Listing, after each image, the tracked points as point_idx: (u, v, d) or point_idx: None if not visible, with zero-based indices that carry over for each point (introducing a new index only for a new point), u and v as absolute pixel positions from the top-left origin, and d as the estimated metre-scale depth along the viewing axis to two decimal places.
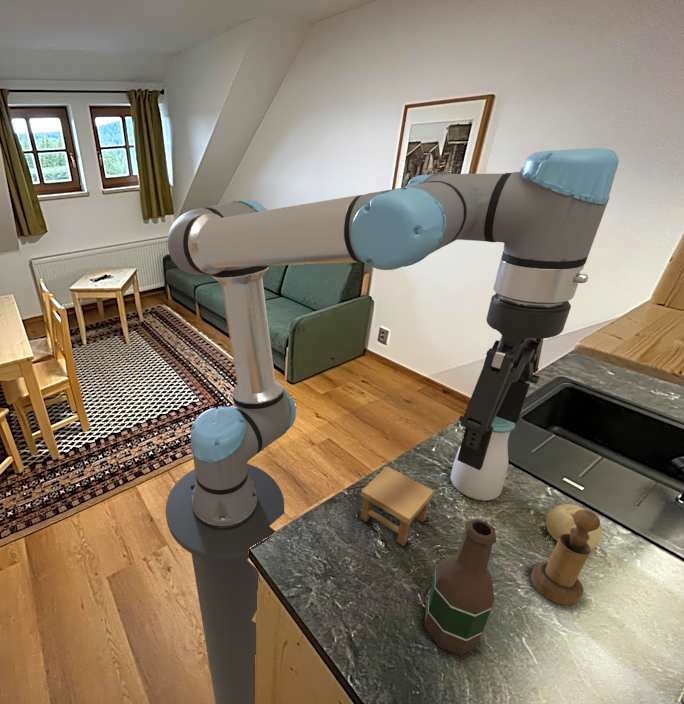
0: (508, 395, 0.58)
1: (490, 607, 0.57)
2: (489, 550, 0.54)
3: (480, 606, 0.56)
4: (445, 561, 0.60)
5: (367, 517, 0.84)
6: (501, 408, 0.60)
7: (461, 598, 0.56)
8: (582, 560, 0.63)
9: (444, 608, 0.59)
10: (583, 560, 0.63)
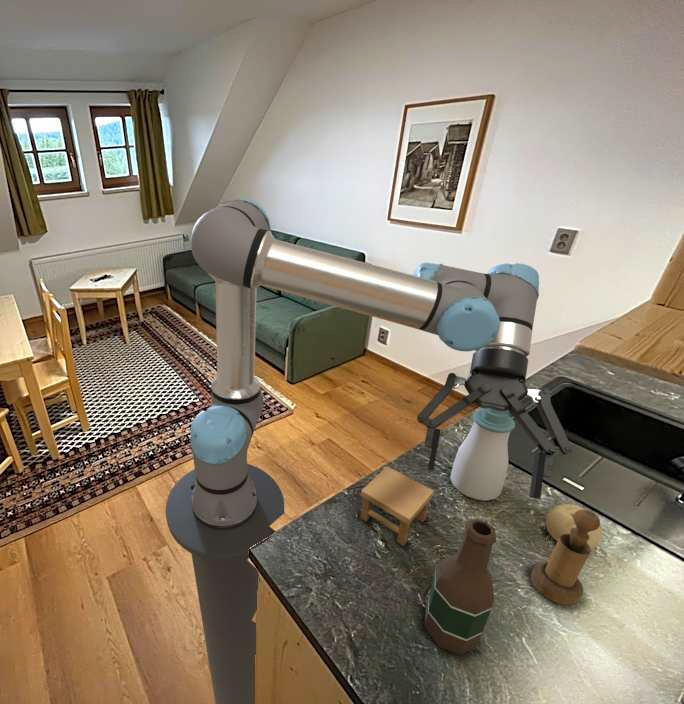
0: (437, 444, 0.65)
1: (490, 607, 0.57)
2: (489, 550, 0.54)
3: (480, 607, 0.56)
4: (445, 561, 0.60)
5: (367, 517, 0.84)
6: None
7: (461, 598, 0.56)
8: (582, 560, 0.63)
9: (444, 608, 0.59)
10: (583, 560, 0.63)
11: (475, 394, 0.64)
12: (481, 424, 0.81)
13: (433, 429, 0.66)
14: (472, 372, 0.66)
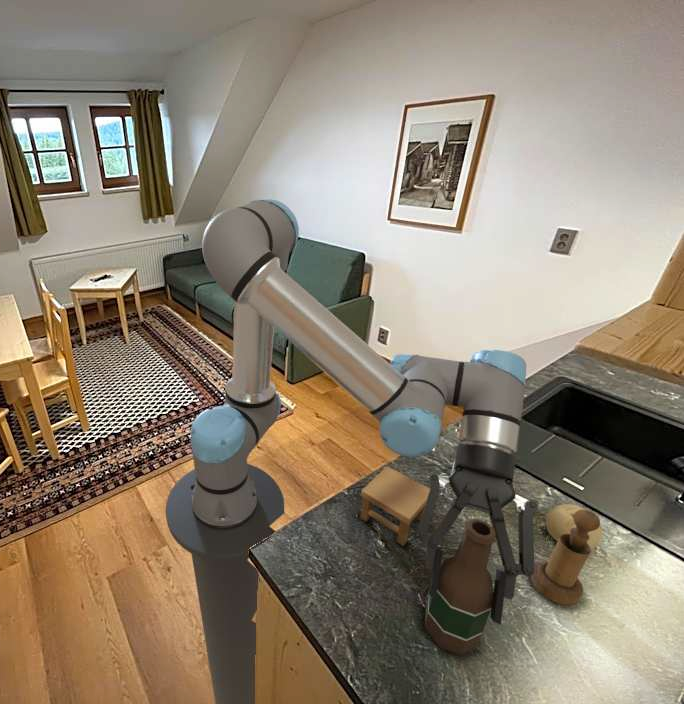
0: None
1: (490, 607, 0.57)
2: (489, 550, 0.54)
3: (480, 607, 0.56)
4: (445, 561, 0.60)
5: (367, 517, 0.84)
6: None
7: (461, 598, 0.56)
8: (582, 560, 0.63)
9: (443, 608, 0.59)
10: (583, 560, 0.63)
11: (464, 498, 0.59)
12: None
13: (435, 549, 0.60)
14: (456, 468, 0.62)
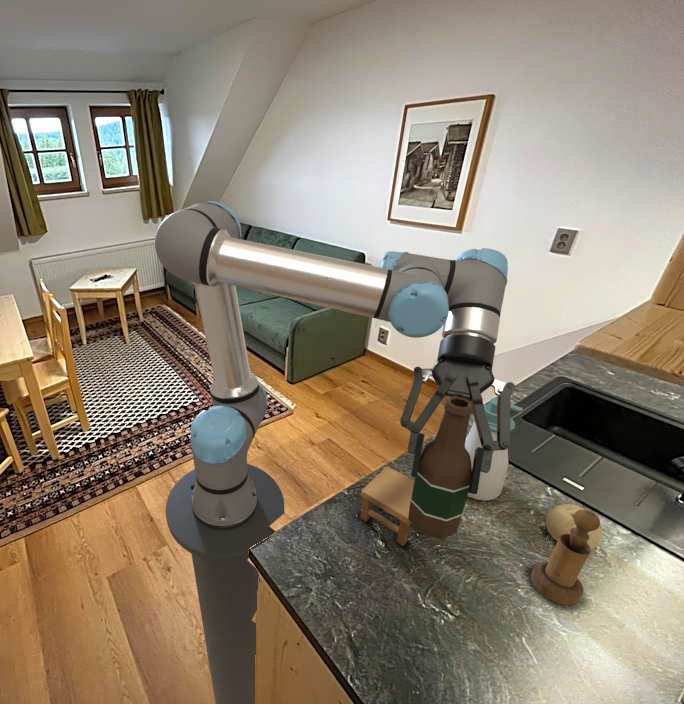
0: (421, 450, 0.61)
1: (468, 484, 0.59)
2: (466, 423, 0.56)
3: (458, 482, 0.58)
4: (426, 446, 0.62)
5: (367, 517, 0.84)
6: (418, 465, 0.60)
7: (440, 475, 0.59)
8: (582, 560, 0.63)
9: (425, 489, 0.62)
10: (583, 560, 0.63)
11: (445, 385, 0.62)
12: None
13: (417, 434, 0.62)
14: (439, 359, 0.64)
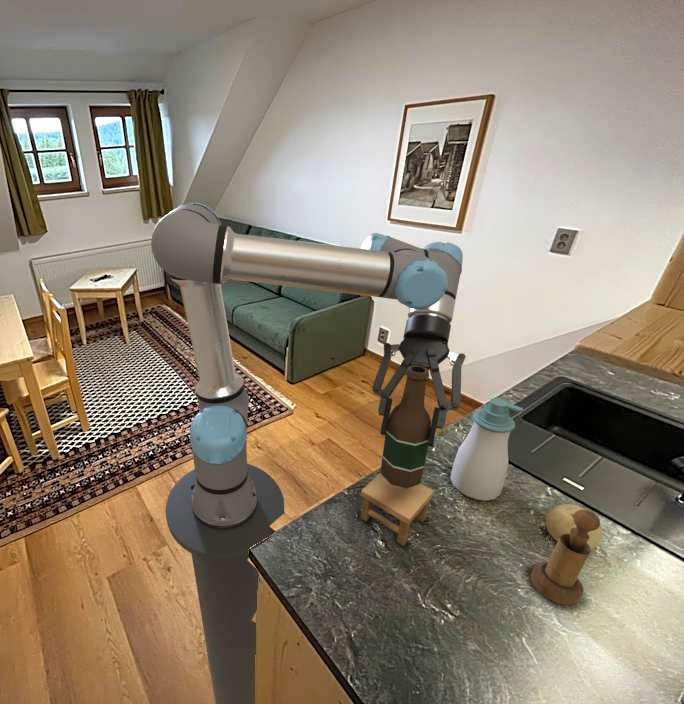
0: (389, 411, 0.73)
1: (428, 439, 0.71)
2: (424, 386, 0.68)
3: (418, 436, 0.70)
4: (394, 409, 0.74)
5: (367, 517, 0.84)
6: (386, 424, 0.72)
7: (404, 431, 0.70)
8: (582, 560, 0.63)
9: (392, 445, 0.73)
10: (583, 560, 0.63)
11: (409, 357, 0.73)
12: (481, 424, 0.81)
13: (385, 398, 0.74)
14: (404, 336, 0.76)
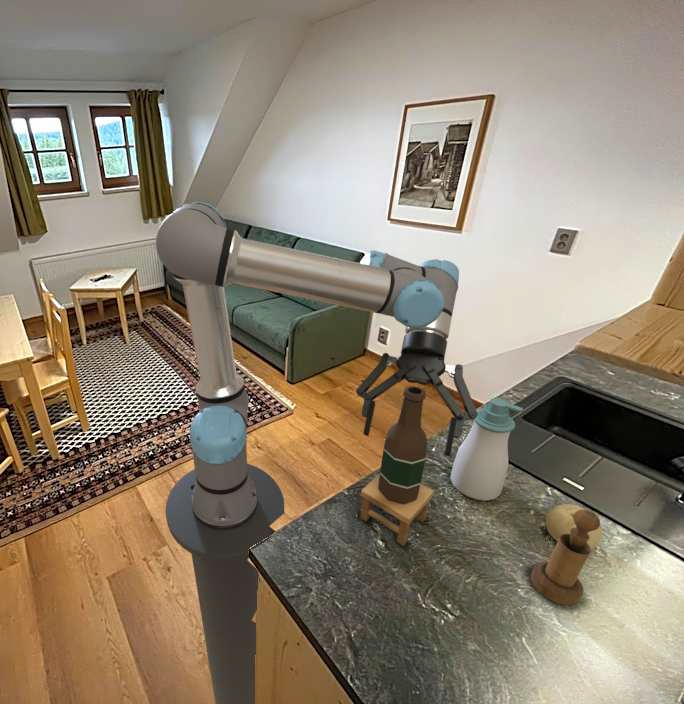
0: (372, 413, 0.76)
1: (424, 457, 0.73)
2: (420, 407, 0.70)
3: (415, 455, 0.72)
4: (391, 427, 0.76)
5: (367, 517, 0.84)
6: (369, 425, 0.75)
7: (401, 450, 0.72)
8: (582, 560, 0.63)
9: (389, 463, 0.75)
10: (583, 560, 0.63)
11: (403, 370, 0.75)
12: (481, 424, 0.81)
13: (369, 401, 0.77)
14: (402, 352, 0.77)
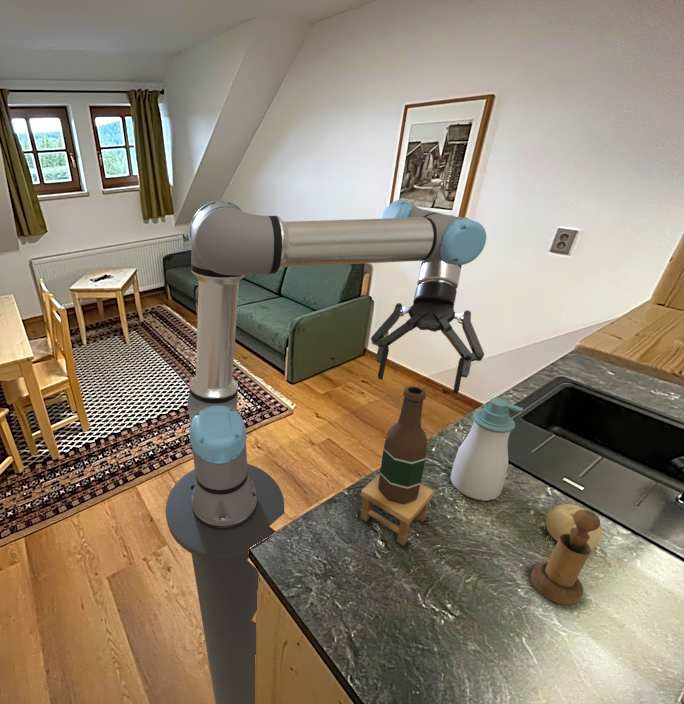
0: (386, 358, 0.83)
1: (424, 457, 0.73)
2: (420, 407, 0.70)
3: (415, 455, 0.72)
4: (391, 427, 0.76)
5: (367, 517, 0.84)
6: (383, 369, 0.82)
7: (401, 450, 0.72)
8: (582, 560, 0.63)
9: (389, 463, 0.75)
10: (583, 560, 0.63)
11: (415, 318, 0.81)
12: (481, 424, 0.81)
13: (383, 347, 0.83)
14: (414, 302, 0.83)
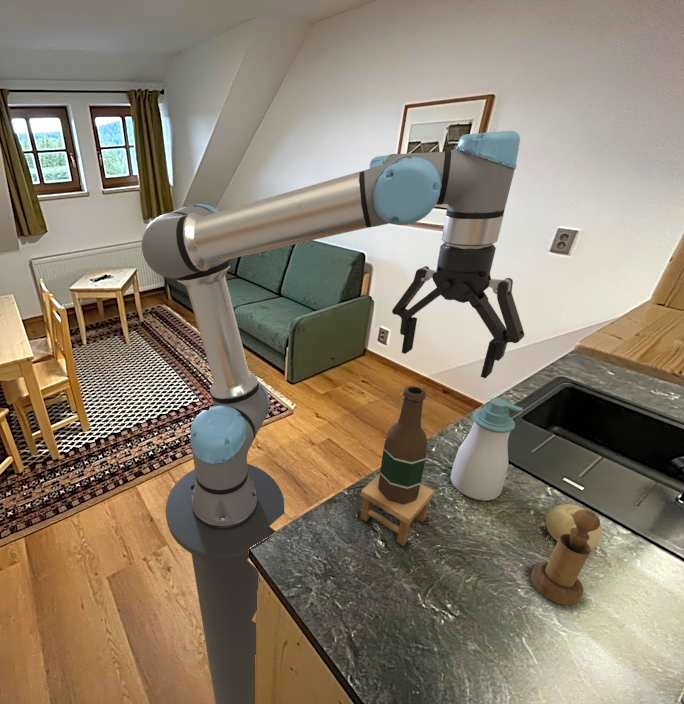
0: (410, 332, 0.75)
1: (424, 457, 0.73)
2: (420, 407, 0.70)
3: (415, 455, 0.72)
4: (391, 427, 0.76)
5: (367, 517, 0.84)
6: (407, 345, 0.75)
7: (401, 450, 0.72)
8: (582, 560, 0.63)
9: (389, 463, 0.75)
10: (583, 560, 0.63)
11: (437, 291, 0.67)
12: (481, 424, 0.81)
13: (406, 320, 0.74)
14: (438, 267, 0.66)
